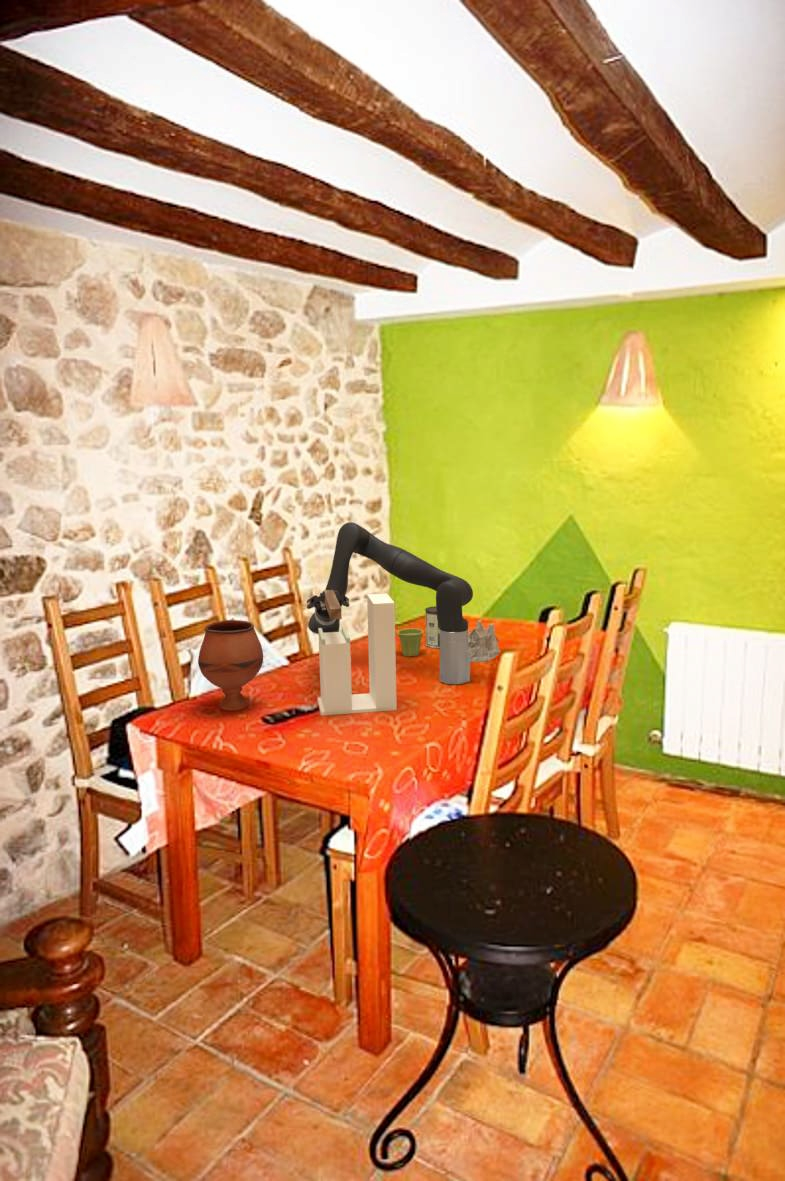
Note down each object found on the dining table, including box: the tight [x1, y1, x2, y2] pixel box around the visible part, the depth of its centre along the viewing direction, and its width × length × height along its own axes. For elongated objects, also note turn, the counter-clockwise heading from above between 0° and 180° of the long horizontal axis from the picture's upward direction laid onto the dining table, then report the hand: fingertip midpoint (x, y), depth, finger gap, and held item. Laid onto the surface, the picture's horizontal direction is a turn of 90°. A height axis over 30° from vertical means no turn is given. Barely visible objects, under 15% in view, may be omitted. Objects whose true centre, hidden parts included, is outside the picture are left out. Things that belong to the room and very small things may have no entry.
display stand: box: [317, 593, 397, 716], centre depth 236 cm, size 22×14×32 cm, turn 99°
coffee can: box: [424, 605, 440, 649], centre depth 304 cm, size 10×10×14 cm
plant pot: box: [396, 628, 424, 657], centre depth 292 cm, size 9×9×9 cm
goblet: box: [197, 619, 264, 712], centre depth 238 cm, size 19×19×25 cm
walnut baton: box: [322, 589, 343, 620], centre depth 234 cm, size 3×26×3 cm, turn 9°
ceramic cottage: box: [468, 620, 502, 663], centre depth 288 cm, size 16×16×15 cm
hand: (329, 594), depth 241 cm, fingers closed on walnut baton, 3 cm apart
